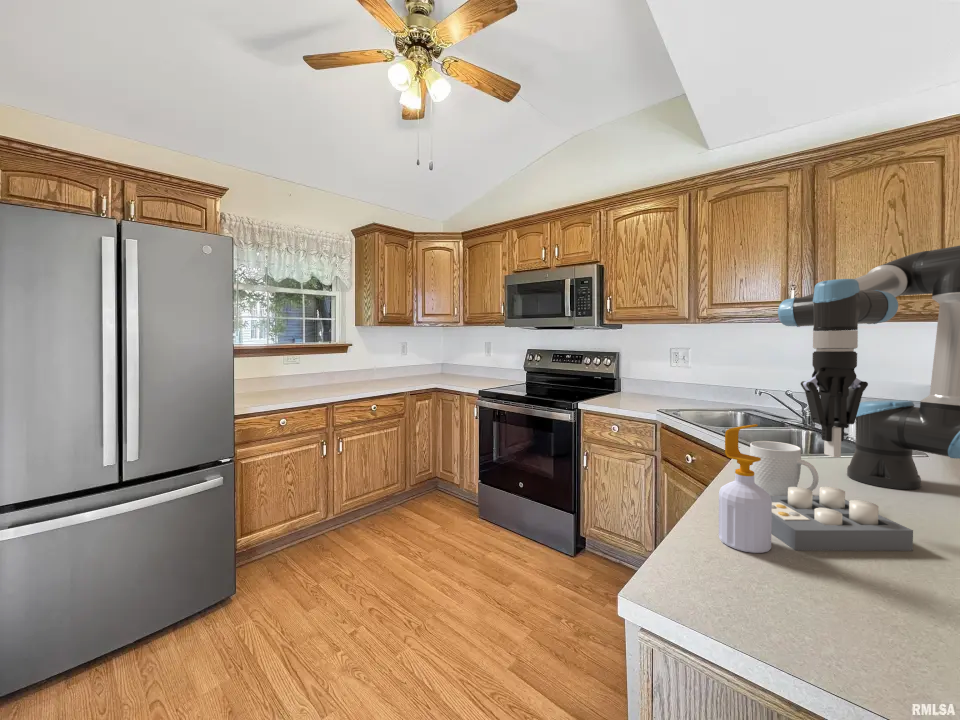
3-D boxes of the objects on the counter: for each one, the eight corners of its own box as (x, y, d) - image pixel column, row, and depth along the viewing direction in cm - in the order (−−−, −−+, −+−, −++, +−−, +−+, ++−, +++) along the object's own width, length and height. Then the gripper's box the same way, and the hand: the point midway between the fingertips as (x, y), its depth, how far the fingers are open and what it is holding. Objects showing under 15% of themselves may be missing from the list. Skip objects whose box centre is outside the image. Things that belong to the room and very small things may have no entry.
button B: (864, 520, 87) (865, 499, 87) (884, 530, 82) (884, 508, 82) (843, 520, 87) (843, 499, 87) (861, 530, 83) (861, 508, 82)
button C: (802, 505, 95) (802, 486, 95) (817, 513, 91) (817, 493, 91) (783, 505, 95) (783, 486, 95) (796, 513, 91) (797, 493, 91)
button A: (834, 505, 95) (834, 486, 95) (850, 513, 90) (850, 493, 90) (814, 505, 95) (814, 486, 95) (829, 513, 91) (829, 493, 90)
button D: (830, 528, 87) (830, 507, 87) (847, 538, 83) (848, 516, 83) (808, 528, 87) (809, 507, 87) (825, 538, 83) (825, 516, 83)
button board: (836, 512, 98) (836, 494, 97) (912, 550, 80) (913, 528, 79) (741, 512, 99) (741, 494, 98) (795, 550, 81) (795, 528, 81)
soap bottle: (755, 558, 78) (756, 430, 77) (709, 538, 86) (709, 422, 85) (781, 547, 82) (782, 425, 81) (734, 529, 90) (735, 418, 89)
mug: (825, 500, 105) (826, 449, 104) (809, 510, 99) (809, 456, 98) (760, 484, 117) (760, 438, 117) (742, 492, 111) (742, 444, 111)
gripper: (850, 349, 95) (848, 450, 96) (791, 350, 95) (790, 451, 96) (880, 350, 87) (878, 460, 88) (817, 351, 88) (815, 460, 89)
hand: (832, 455), depth 92 cm, fingers closed
